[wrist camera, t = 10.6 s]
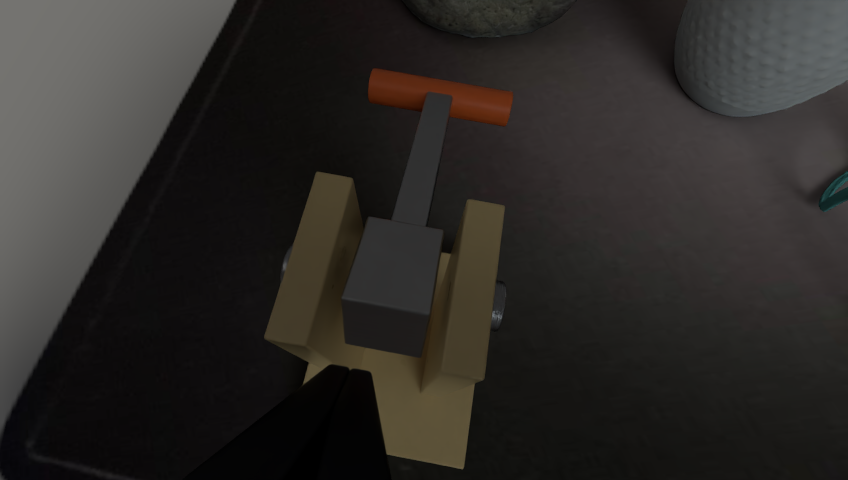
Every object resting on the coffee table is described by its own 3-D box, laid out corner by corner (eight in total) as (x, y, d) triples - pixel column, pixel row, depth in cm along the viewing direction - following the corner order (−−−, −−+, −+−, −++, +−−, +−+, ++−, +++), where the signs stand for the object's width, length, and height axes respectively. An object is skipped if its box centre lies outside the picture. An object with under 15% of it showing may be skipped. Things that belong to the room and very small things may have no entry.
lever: (375, 101, 20) (376, 50, 18) (502, 123, 20) (516, 75, 18) (277, 331, 12) (261, 283, 10) (488, 372, 12) (510, 330, 10)
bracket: (346, 241, 24) (290, 77, 12) (486, 267, 24) (568, 126, 12) (294, 433, 20) (144, 465, 9) (460, 466, 20) (543, 544, 8)
